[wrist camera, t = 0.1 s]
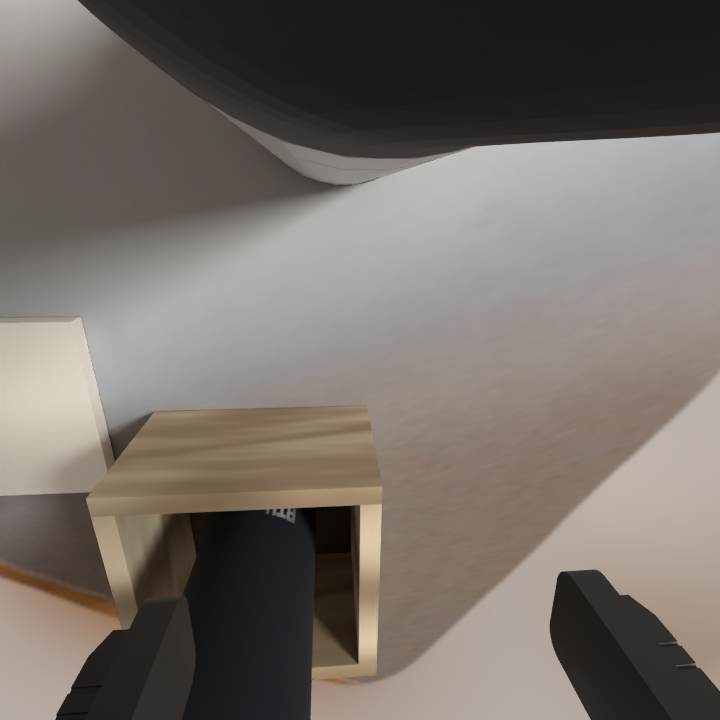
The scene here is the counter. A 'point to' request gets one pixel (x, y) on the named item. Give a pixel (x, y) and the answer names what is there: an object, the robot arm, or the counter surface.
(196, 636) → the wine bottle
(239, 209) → the counter surface
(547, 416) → the counter surface
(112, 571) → the pine crate
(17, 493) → the cream tile
